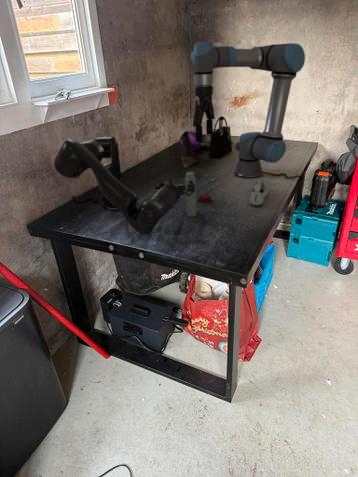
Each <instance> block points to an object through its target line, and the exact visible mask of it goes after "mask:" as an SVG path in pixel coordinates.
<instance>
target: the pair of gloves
mask: <svg viewBox="0 0 358 477" xmlns="http://www.w3.org/2000/svg"><path fill="white" fill-rule="evenodd" d="M210 140H211V135H205V138H204V140H202V142H201V145H200V148H199V149H198V150H200V149H204V148H210ZM231 144H232V145H233V144H234V141H233V140H231Z"/></svg>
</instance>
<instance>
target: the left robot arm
mask: <svg viewBox="0 0 358 477" xmlns="http://www.w3.org/2000/svg"><path fill="white" fill-rule="evenodd" d="M103 159H110V161H109V162H107V163H105V164H103V163H102V161H103ZM53 167H54V170H55V171H56V172H57V174H59V175H60V176H62V177H65V178H68V179H77V178H79V177H80V176H82V174H83V173H84V172H85V171H87V170H88V169H90V170H91V171H92V173H93V175H94V177H95V179H96V182H97V185H98V187H99V190H100V192H101V194H102V195H100V196H97V197H95V196H90V197H87V198H85V199H82V200H78V199H76V195H75V194H74V195H72V196H71V197H72V198H73V200H74V201H75V202H77V203H84V202H86V201H89V200H93V201H94V202H98V201H99V199H101V201H103V204H104V208H105V209H106V210H109V211H120V213H121V214H122V215H123V217H124V218H125V220H126V221H127V222H128V224H129V225H130V226H131V227H132V229H133V230H134V231H135V232H137V233H138V234H140V235H144V236H145V235H146V236H147V235H150V234H151V233H152V232H153V231H154V230H155V228H156V226H157V225H158V223H159V222H160V220H161V219H162V217H164V216H166V214H167V213H168V212H169V211H170V210H172V208H173V207H174V206H175V205H176V204H177V202H179V200H180V198H181V196H184V195H186V194H187V196H191V195H192V194H193V192H194V191H195V184H193V182H192V180H190V181H189V182H188V184H185V183H180V184H174V183H173V179H172V178H169V179H167V180H166V181H159V182H158V183H157V184H156V185H155V187H154V190H155V191H154V192H155V193H154V195H153V196H152V197H151V198H149V199H147V200H146V201H144V202H143V203H141V205H140V207H139V208H138V196H137V195H136V194H135V193H134V192H133V191H132V190H130V189H129V188H128V187H127V186H125V185H124V183H123V177H122V176H123V174H122V169H121V160H120V151H119V142H118V139H117V137H115V136H97V137H96V136H95V138H93V139H91V140H86V141H83V142H81V143H80V142H78V141H77V140H74V139H66V140H64V142H63V143H62V145H61V147H60V148H59V150H58V152H57V154H56V156H55V158H54V161H53ZM187 186H188V188H187V189H186V187H187Z"/></svg>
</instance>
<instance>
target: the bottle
mask: <svg viewBox="0 0 358 477" xmlns="http://www.w3.org/2000/svg"><path fill="white" fill-rule="evenodd" d="M190 180H192V182H193V184H195V191H194V192H193V194H192V195H191V196H187V194H185V208H186V209H185V212H186V216H187V217H190V218H193V217H196V216H197V215H198V214H197V212H198V211H197V181H196V180H197V178H196V176H195V172H194V171H187V172H186V173H185V177H184V184H188V182H189V181H190ZM187 188H188V186H187V187H186V189H187Z"/></svg>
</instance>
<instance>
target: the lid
mask: <svg viewBox="0 0 358 477" xmlns="http://www.w3.org/2000/svg"><path fill="white" fill-rule="evenodd" d="M210 201H211V195H210V194H207V193H202V194H200V195H199V202H200V203H209V202H210Z"/></svg>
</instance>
